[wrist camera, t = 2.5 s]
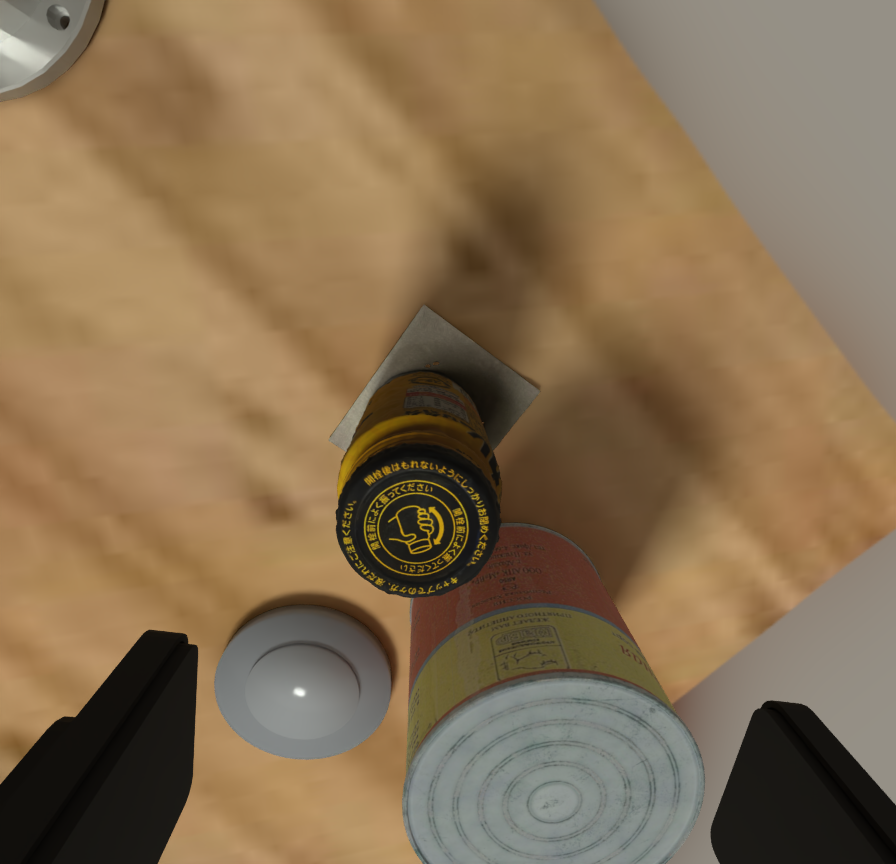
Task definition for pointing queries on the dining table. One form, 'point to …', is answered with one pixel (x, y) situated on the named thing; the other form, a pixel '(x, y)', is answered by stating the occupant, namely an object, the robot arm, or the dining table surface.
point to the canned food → (540, 721)
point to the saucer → (304, 682)
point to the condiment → (426, 461)
